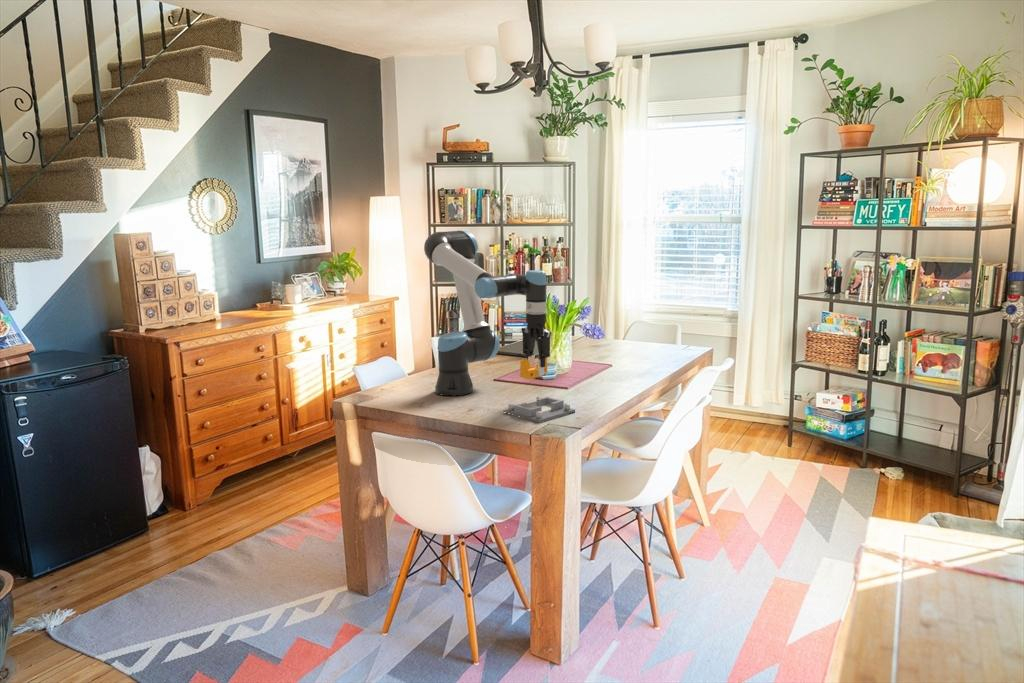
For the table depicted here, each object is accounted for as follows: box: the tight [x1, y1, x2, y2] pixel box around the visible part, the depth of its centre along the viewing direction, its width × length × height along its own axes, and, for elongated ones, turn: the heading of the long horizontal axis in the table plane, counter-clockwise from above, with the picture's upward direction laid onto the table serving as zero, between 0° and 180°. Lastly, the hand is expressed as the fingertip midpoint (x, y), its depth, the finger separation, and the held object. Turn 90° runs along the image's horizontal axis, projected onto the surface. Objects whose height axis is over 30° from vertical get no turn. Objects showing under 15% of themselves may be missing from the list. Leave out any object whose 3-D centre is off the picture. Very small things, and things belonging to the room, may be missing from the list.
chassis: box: [502, 396, 576, 424], centre depth 257 cm, size 18×18×4 cm
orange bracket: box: [519, 358, 548, 380], centre depth 271 cm, size 12×4×6 cm, turn 135°
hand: (536, 374), depth 272 cm, fingers closed on orange bracket, 4 cm apart
